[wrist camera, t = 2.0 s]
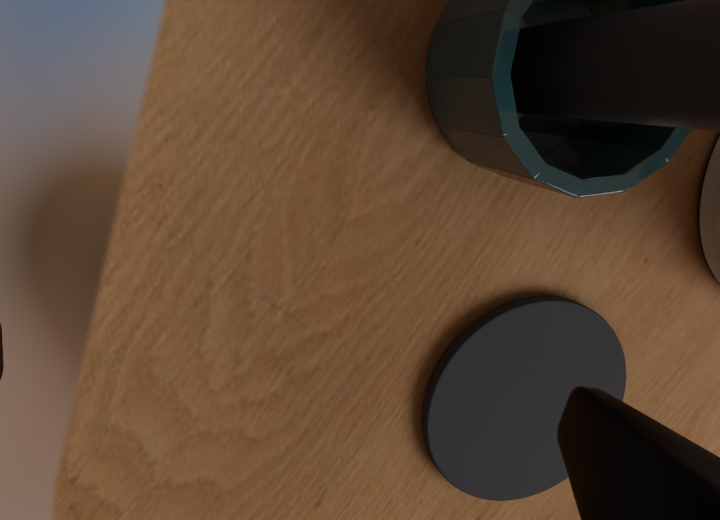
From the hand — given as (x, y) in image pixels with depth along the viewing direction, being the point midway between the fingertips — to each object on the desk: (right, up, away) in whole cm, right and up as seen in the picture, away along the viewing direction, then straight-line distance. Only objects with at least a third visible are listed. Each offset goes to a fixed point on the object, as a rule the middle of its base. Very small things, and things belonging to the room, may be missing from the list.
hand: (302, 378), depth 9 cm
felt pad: (+8, -4, +17) cm, 19 cm away
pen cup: (+7, +9, +12) cm, 17 cm away
